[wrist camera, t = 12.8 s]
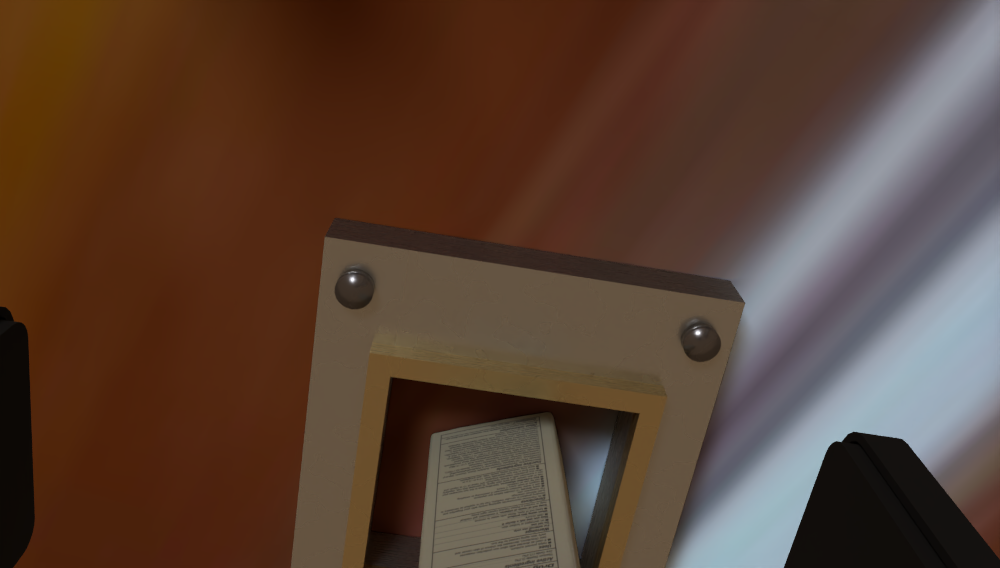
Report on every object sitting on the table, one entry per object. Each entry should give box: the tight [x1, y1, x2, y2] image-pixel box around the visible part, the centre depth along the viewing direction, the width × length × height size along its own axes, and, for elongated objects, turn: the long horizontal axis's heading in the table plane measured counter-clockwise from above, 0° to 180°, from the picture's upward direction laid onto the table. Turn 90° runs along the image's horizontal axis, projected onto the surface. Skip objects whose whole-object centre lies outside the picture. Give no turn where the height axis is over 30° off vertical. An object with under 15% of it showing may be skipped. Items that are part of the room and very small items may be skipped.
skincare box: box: [419, 412, 580, 568], centre depth 38 cm, size 6×4×12 cm
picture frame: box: [291, 218, 745, 568], centre depth 42 cm, size 18×22×4 cm
